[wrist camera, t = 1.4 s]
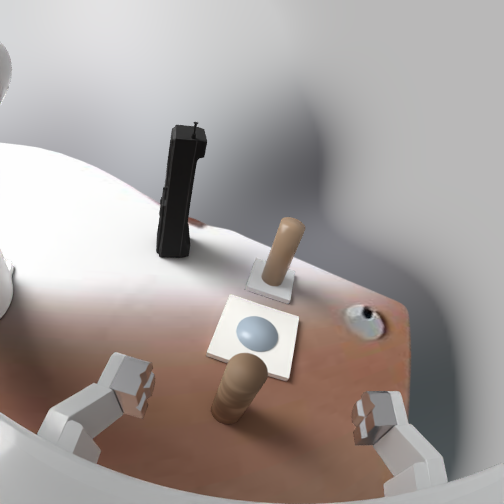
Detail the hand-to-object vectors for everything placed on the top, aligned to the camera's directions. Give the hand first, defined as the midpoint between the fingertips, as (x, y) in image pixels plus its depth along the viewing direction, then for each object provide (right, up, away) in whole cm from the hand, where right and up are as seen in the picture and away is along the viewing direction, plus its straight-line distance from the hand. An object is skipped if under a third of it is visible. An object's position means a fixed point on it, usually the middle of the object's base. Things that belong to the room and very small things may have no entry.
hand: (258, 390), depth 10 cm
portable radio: (-16, +6, +46) cm, 49 cm away
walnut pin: (-3, -15, +24) cm, 29 cm away
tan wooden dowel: (+3, 0, +44) cm, 44 cm away
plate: (0, -8, +34) cm, 35 cm away
